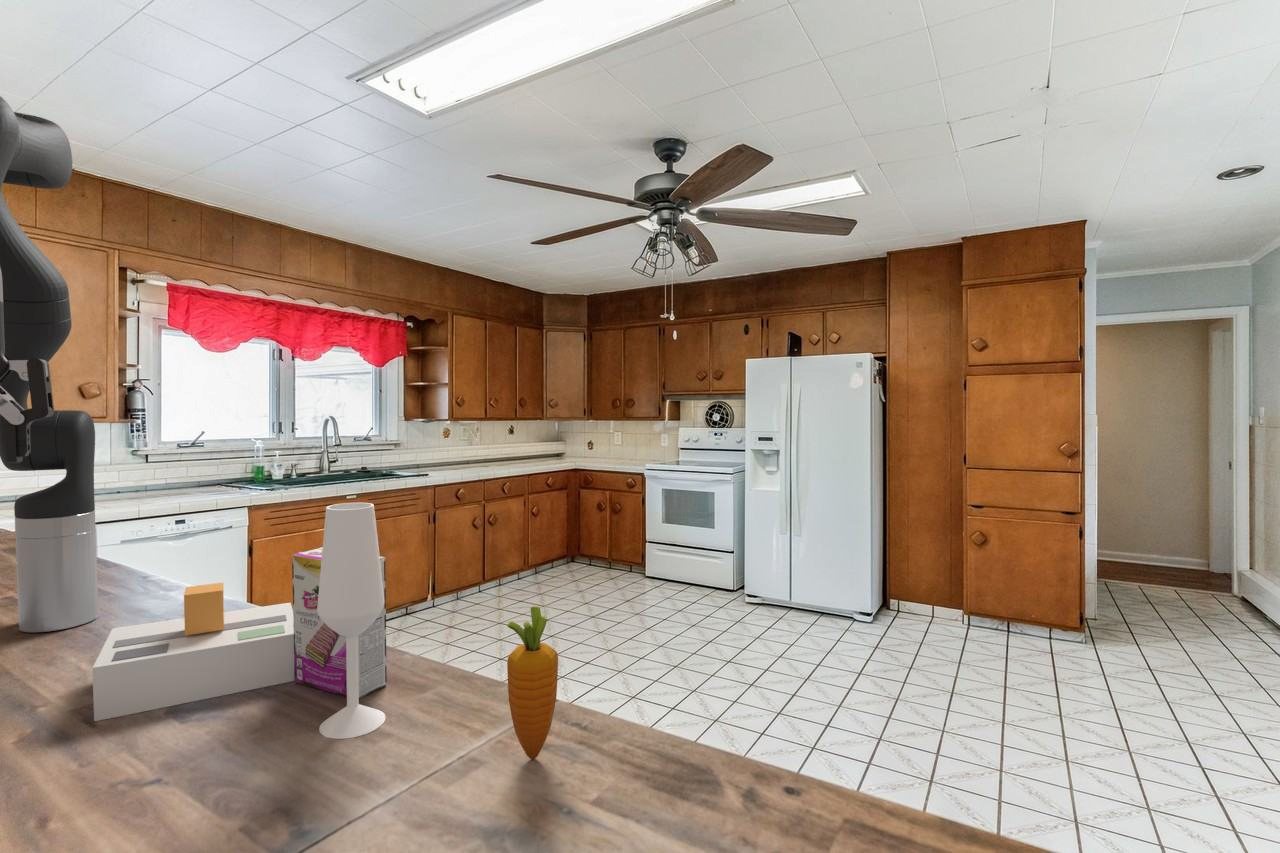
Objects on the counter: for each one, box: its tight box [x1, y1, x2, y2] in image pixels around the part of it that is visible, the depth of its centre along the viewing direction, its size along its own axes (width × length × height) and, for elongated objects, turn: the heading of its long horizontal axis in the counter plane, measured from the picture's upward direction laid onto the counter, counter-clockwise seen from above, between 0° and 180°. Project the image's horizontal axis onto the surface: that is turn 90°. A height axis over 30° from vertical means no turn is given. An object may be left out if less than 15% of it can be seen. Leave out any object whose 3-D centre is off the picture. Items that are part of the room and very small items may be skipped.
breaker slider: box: [183, 582, 225, 636], centre depth 81 cm, size 4×4×5 cm
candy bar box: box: [291, 546, 388, 700], centre depth 79 cm, size 11×5×16 cm, turn 65°
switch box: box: [92, 602, 295, 722], centre depth 81 cm, size 14×20×6 cm
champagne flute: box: [317, 502, 386, 740], centre depth 70 cm, size 7×7×24 cm
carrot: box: [506, 605, 559, 761], centre depth 63 cm, size 5×5×15 cm
